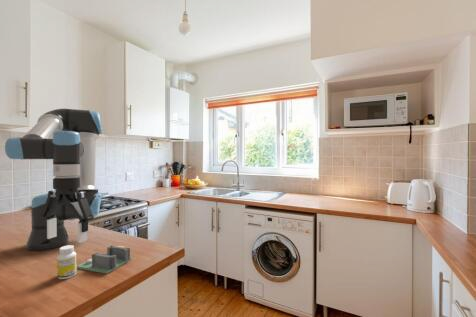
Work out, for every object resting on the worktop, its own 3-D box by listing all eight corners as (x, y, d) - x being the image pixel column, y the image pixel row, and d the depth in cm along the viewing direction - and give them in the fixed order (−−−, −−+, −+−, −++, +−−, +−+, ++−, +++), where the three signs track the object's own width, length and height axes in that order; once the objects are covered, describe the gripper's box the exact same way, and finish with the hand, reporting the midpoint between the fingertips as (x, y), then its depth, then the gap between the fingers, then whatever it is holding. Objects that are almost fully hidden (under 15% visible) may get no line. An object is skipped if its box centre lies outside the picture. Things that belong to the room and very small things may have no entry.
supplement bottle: (63, 272, 84) (63, 244, 84) (80, 271, 85) (80, 244, 85) (53, 280, 79) (53, 250, 79) (70, 279, 79) (70, 250, 79)
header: (92, 266, 87) (91, 254, 87) (112, 255, 96) (112, 245, 96) (112, 269, 85) (112, 257, 85) (131, 258, 94) (131, 247, 94)
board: (76, 268, 87) (76, 262, 87) (103, 254, 99) (103, 250, 99) (107, 273, 83) (107, 267, 83) (131, 259, 95) (131, 254, 95)
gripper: (27, 176, 81) (28, 239, 81) (86, 178, 74) (86, 247, 74) (50, 175, 88) (50, 232, 88) (105, 176, 81) (105, 239, 81)
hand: (66, 239), depth 81 cm, fingers open, 13 cm apart
